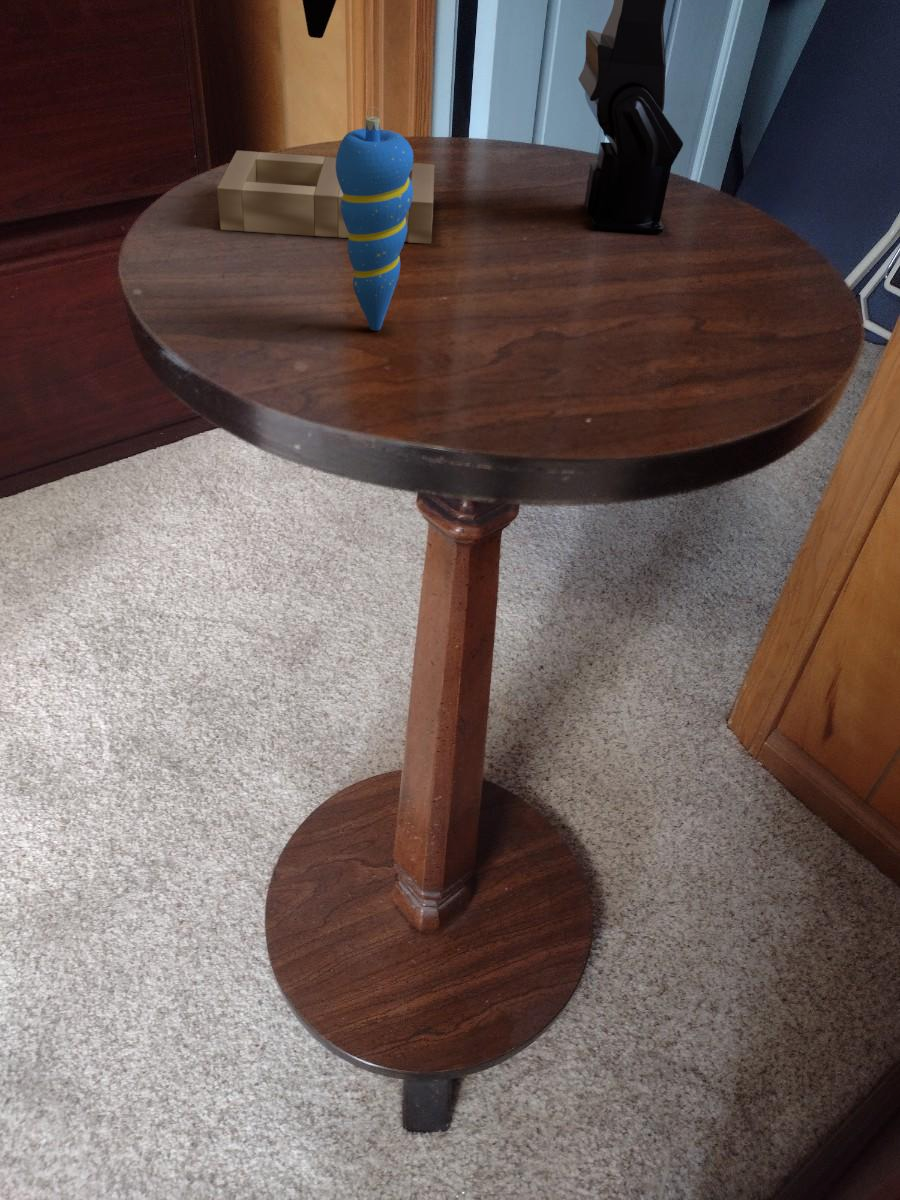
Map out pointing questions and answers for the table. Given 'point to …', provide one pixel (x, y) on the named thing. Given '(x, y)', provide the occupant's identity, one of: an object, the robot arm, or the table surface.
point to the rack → (304, 196)
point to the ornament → (375, 211)
